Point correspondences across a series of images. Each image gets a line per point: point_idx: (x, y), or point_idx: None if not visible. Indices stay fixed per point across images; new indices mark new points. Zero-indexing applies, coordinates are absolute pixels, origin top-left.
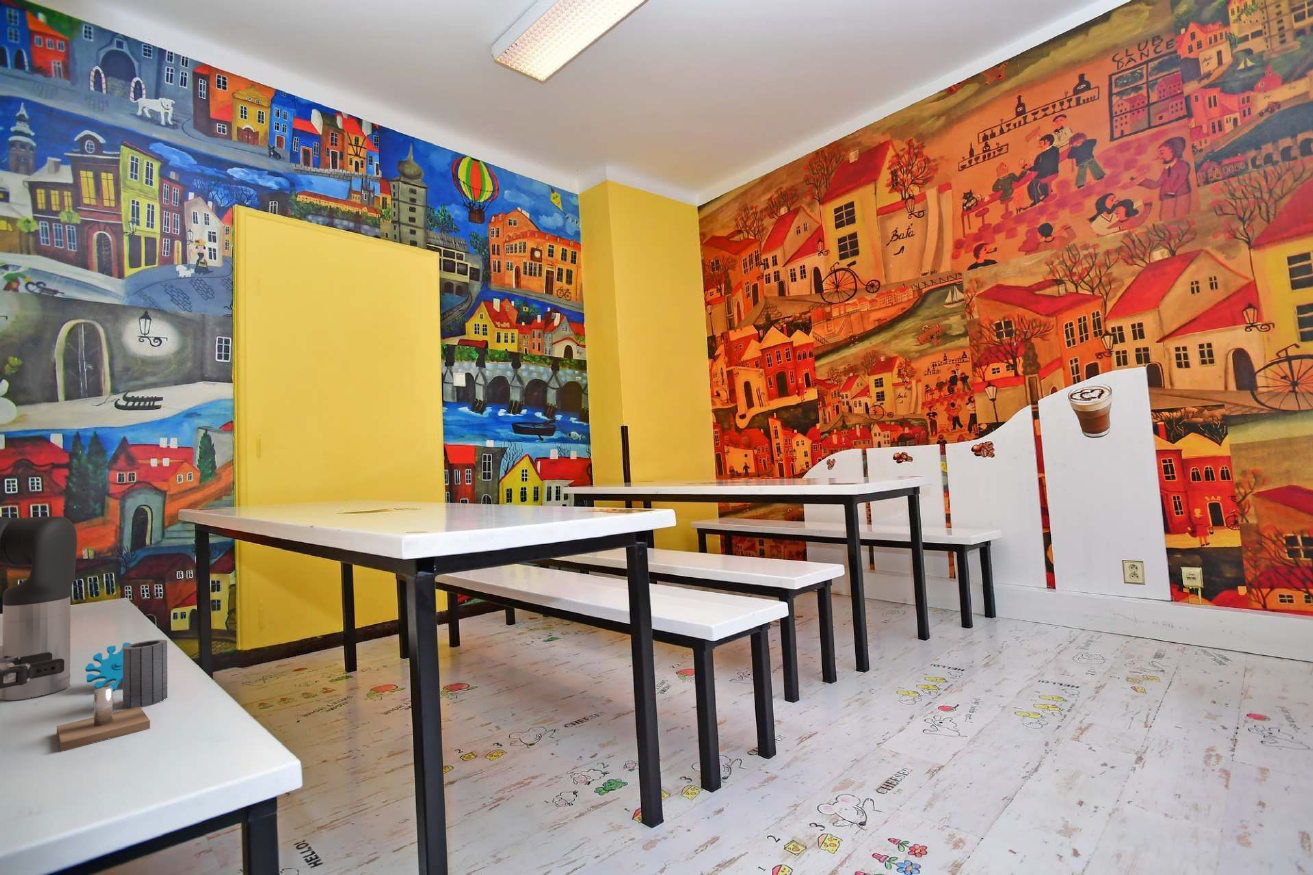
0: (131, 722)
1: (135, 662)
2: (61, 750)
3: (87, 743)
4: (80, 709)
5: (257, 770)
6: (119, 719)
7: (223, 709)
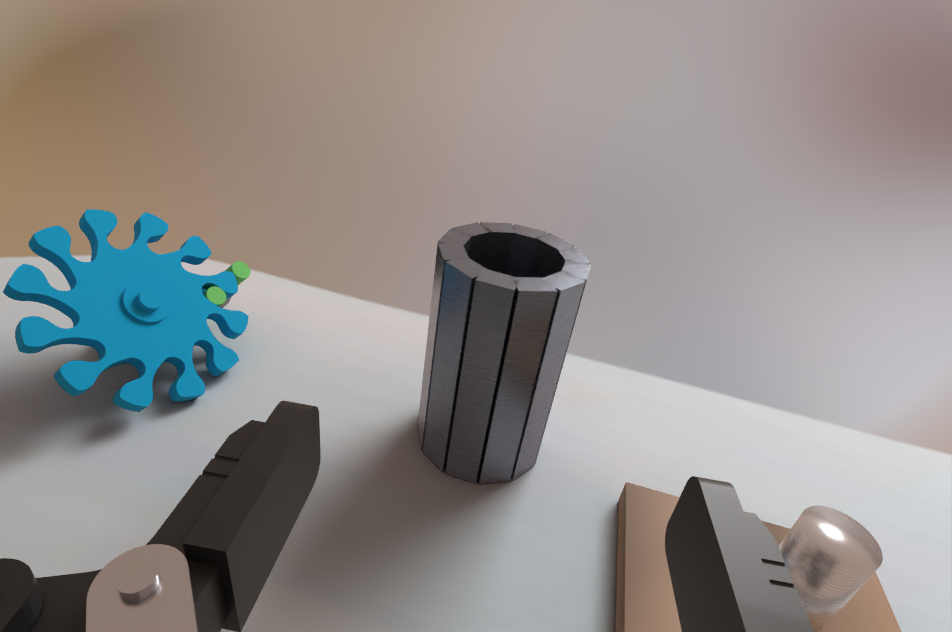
0: None
1: (559, 337)
2: None
3: None
4: (293, 537)
5: None
6: None
7: (793, 422)
